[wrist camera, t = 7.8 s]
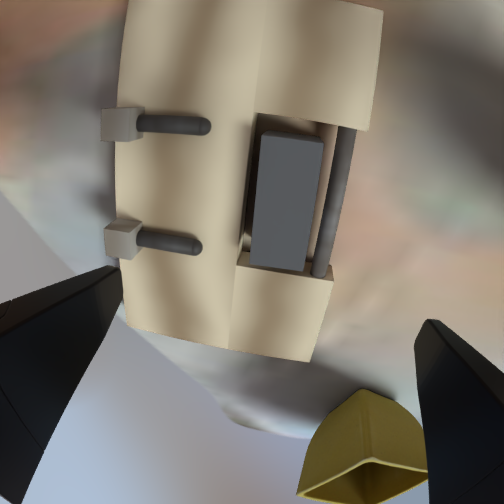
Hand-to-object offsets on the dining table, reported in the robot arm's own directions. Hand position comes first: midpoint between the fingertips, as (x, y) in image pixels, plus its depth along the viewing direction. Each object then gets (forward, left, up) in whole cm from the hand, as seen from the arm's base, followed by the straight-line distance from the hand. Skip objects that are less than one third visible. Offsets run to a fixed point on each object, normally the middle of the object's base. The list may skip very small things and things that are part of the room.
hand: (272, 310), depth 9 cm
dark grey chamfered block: (0, 0, -12) cm, 12 cm away
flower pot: (-11, +19, -12) cm, 25 cm away
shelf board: (+3, 0, -12) cm, 12 cm away
